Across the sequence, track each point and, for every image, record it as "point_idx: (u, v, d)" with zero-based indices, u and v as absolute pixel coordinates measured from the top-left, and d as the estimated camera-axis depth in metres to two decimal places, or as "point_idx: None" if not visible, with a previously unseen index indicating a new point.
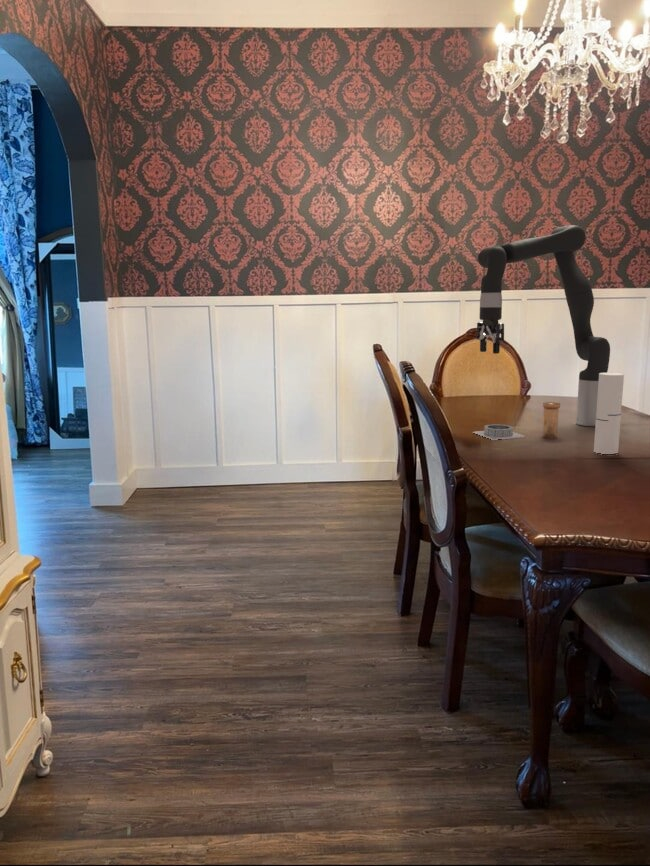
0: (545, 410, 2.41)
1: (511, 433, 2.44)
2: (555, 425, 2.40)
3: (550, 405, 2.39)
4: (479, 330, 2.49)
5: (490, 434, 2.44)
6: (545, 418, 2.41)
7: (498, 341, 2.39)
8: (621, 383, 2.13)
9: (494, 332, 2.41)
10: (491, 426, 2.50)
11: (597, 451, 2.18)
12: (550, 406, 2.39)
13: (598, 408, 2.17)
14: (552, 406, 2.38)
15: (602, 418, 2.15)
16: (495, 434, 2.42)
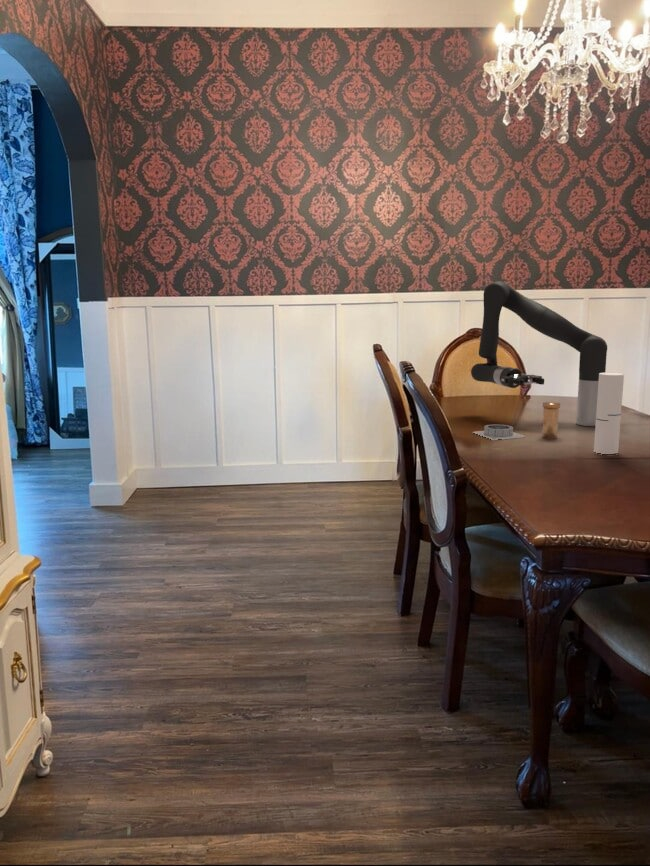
0: (545, 410, 2.41)
1: (511, 433, 2.44)
2: (555, 425, 2.40)
3: (550, 405, 2.39)
4: (534, 381, 2.59)
5: (490, 434, 2.44)
6: (545, 418, 2.41)
7: (511, 382, 2.52)
8: (621, 383, 2.13)
9: None
10: (491, 426, 2.50)
11: (597, 451, 2.18)
12: (550, 406, 2.39)
13: (598, 408, 2.17)
14: (552, 406, 2.38)
15: (602, 418, 2.15)
16: (495, 434, 2.42)
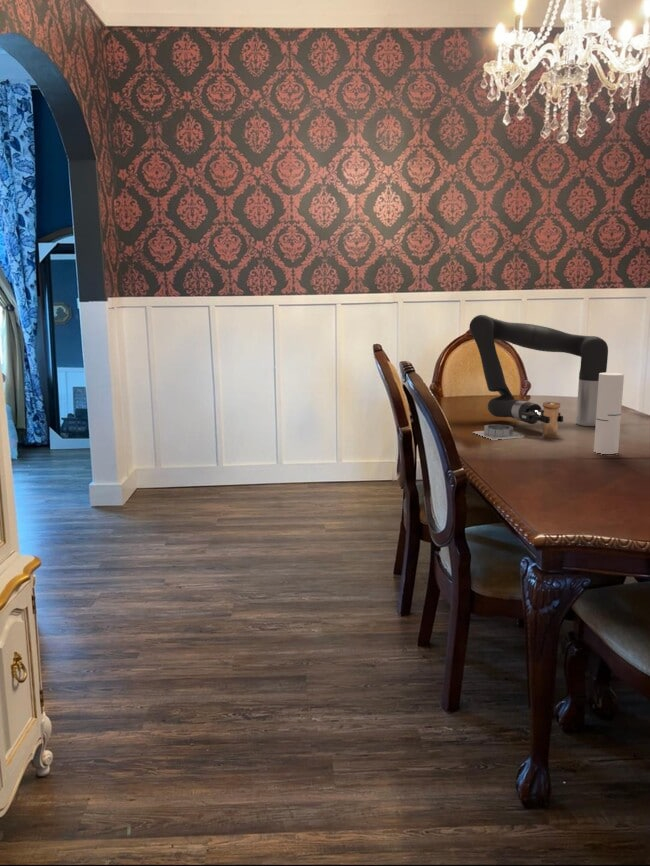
0: (545, 410, 2.41)
1: (511, 433, 2.44)
2: (555, 425, 2.40)
3: (550, 405, 2.39)
4: None
5: (490, 434, 2.44)
6: None
7: (536, 419, 2.42)
8: (621, 383, 2.13)
9: None
10: (491, 426, 2.50)
11: (597, 451, 2.18)
12: (550, 406, 2.39)
13: (598, 408, 2.17)
14: (552, 406, 2.38)
15: (602, 418, 2.15)
16: (495, 434, 2.42)
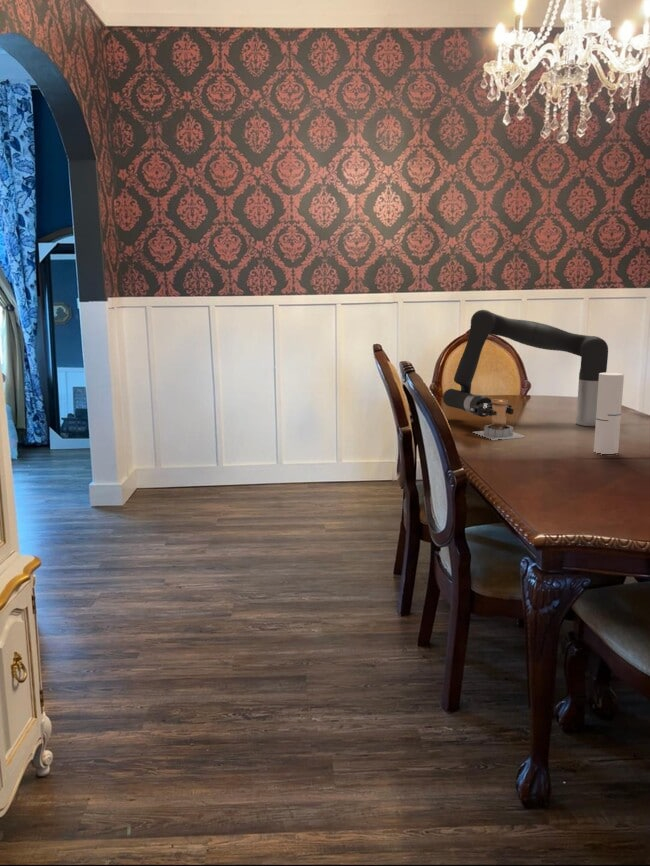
0: (493, 407, 2.44)
1: (511, 433, 2.44)
2: (503, 421, 2.44)
3: (498, 402, 2.42)
4: None
5: (490, 434, 2.44)
6: (493, 415, 2.45)
7: (481, 412, 2.46)
8: (621, 383, 2.13)
9: None
10: None
11: (597, 451, 2.18)
12: (498, 403, 2.42)
13: (598, 408, 2.17)
14: (500, 403, 2.42)
15: (602, 418, 2.15)
16: (495, 434, 2.42)
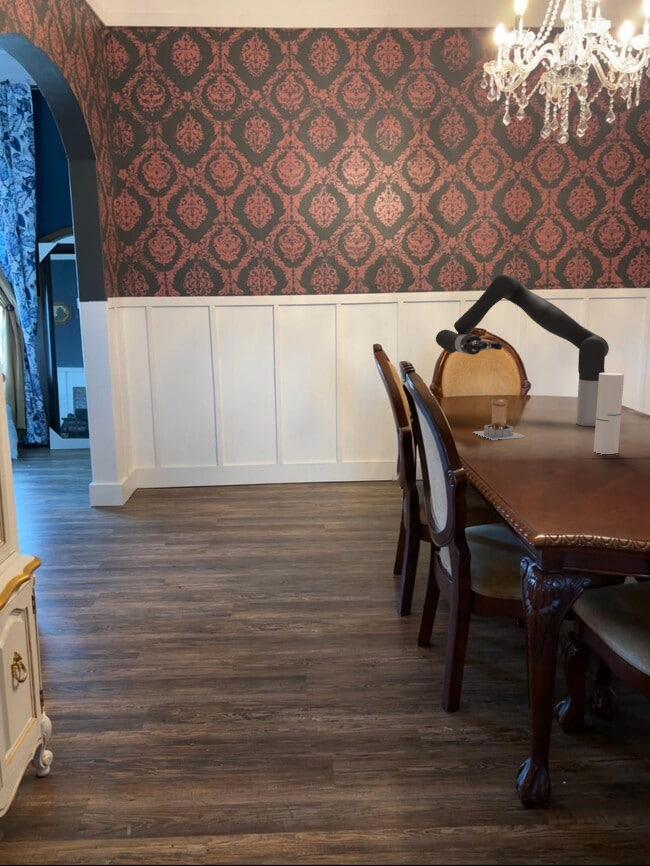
0: (493, 407, 2.44)
1: (511, 433, 2.44)
2: (503, 422, 2.44)
3: (498, 402, 2.42)
4: (493, 347, 2.66)
5: (490, 434, 2.44)
6: (493, 415, 2.45)
7: (470, 348, 2.59)
8: (621, 383, 2.13)
9: None
10: None
11: (597, 451, 2.18)
12: (498, 403, 2.42)
13: (598, 408, 2.17)
14: (500, 403, 2.42)
15: (602, 418, 2.15)
16: (495, 434, 2.42)
